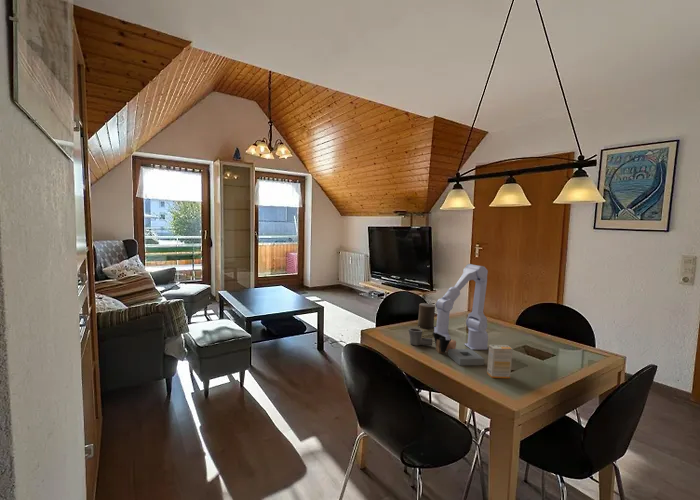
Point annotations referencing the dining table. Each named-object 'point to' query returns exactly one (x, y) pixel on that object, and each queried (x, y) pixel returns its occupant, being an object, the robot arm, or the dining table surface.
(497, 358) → the supplement box
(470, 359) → the block
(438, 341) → the square peg
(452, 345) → the peach egg-shaped blob
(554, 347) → the dining table surface
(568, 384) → the dining table surface
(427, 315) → the pillar candle
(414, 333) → the pipe
